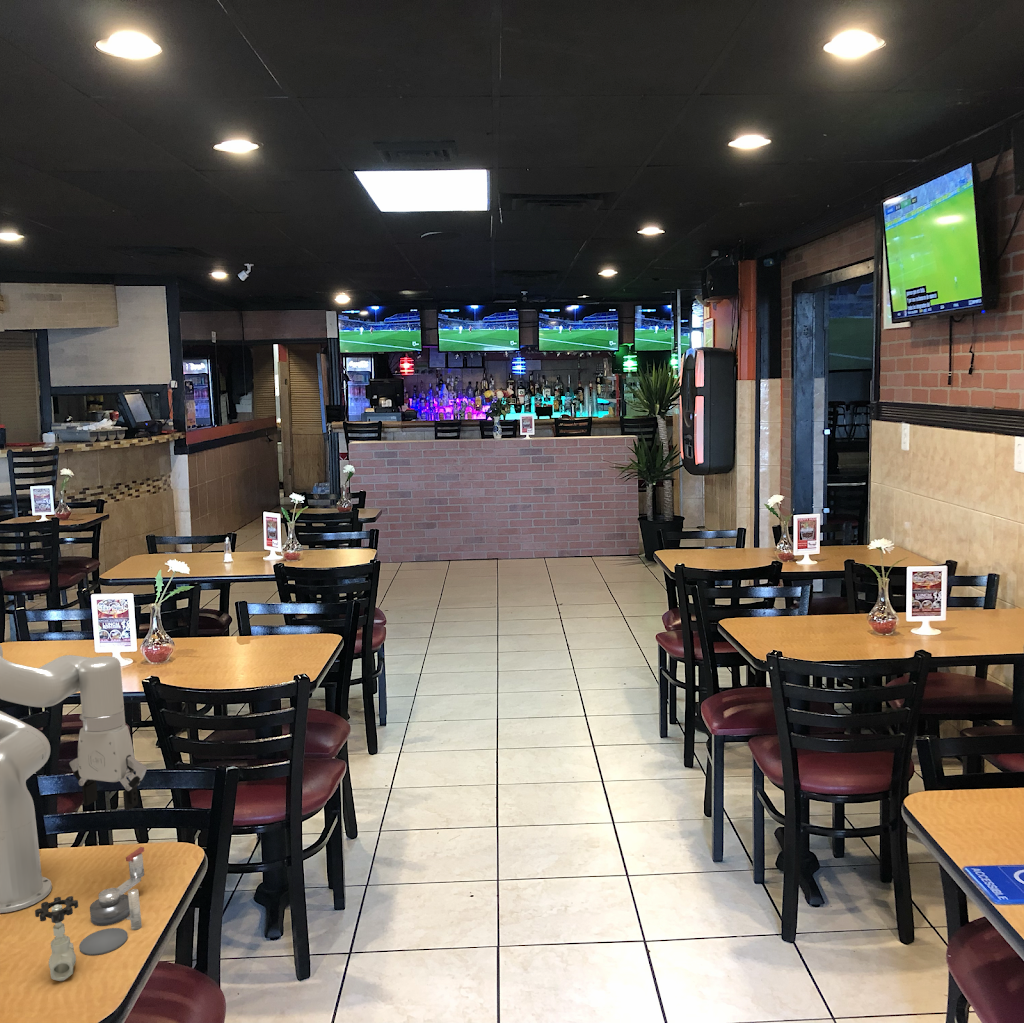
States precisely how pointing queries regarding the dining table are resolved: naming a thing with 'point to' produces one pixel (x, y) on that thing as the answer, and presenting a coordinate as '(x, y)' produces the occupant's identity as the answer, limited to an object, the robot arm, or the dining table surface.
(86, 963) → the dining table surface
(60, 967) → the valve
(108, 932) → the mat
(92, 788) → the robot arm
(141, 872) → the crank
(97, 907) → the crank housing
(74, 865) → the dining table surface
